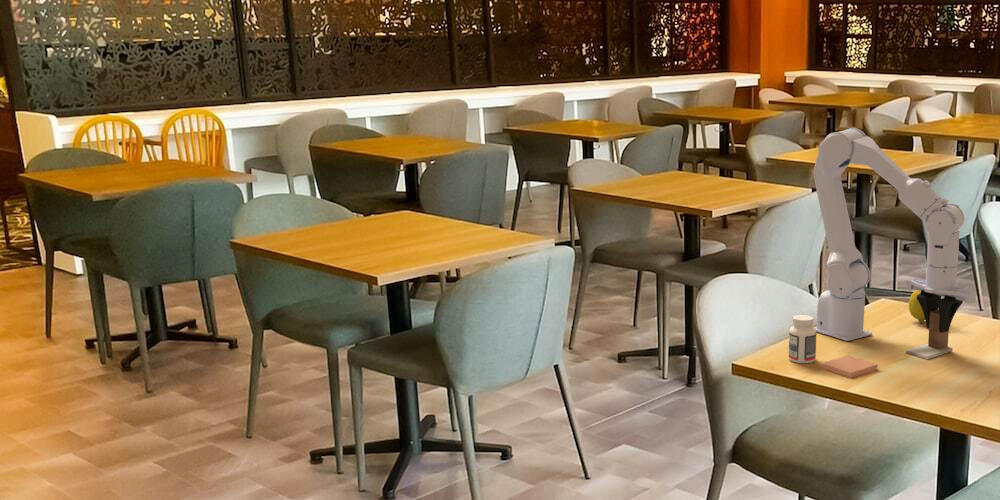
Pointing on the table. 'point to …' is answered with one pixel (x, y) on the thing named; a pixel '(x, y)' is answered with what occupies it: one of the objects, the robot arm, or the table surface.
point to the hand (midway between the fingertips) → (937, 329)
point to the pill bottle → (802, 340)
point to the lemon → (916, 307)
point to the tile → (849, 366)
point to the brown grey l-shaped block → (932, 340)
